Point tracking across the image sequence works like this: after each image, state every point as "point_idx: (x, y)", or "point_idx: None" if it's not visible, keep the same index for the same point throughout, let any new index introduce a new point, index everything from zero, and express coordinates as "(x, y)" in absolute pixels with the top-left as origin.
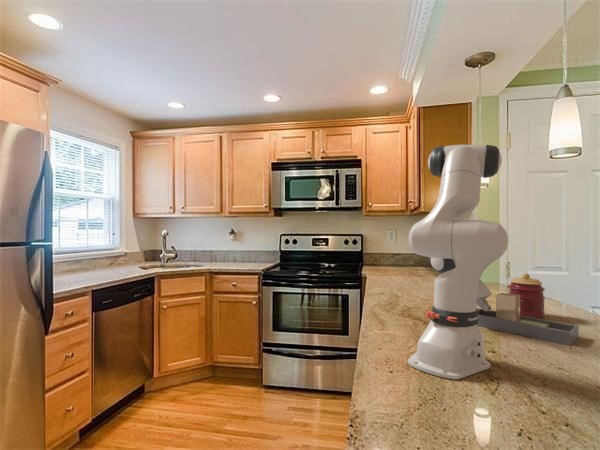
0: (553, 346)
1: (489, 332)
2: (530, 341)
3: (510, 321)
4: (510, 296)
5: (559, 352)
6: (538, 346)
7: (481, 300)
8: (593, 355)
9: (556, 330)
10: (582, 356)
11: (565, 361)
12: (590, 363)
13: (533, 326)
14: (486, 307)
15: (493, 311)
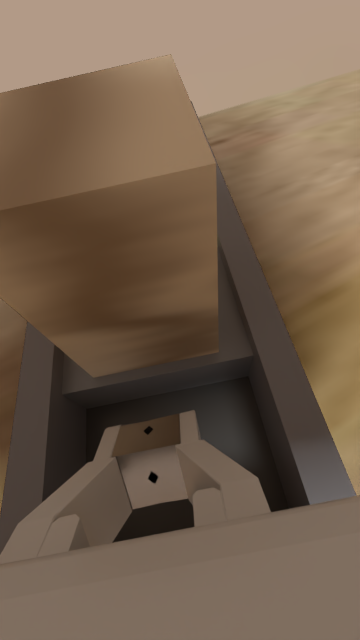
0: (253, 158)
1: (351, 337)
2: (276, 200)
3: (247, 238)
4: (144, 82)
5: (295, 132)
6: (305, 169)
7: (216, 506)
8: (228, 109)
9: (199, 122)
10: (265, 110)
11: (355, 103)
12: (301, 90)
13: (218, 169)
14: (198, 431)
15: (40, 465)
